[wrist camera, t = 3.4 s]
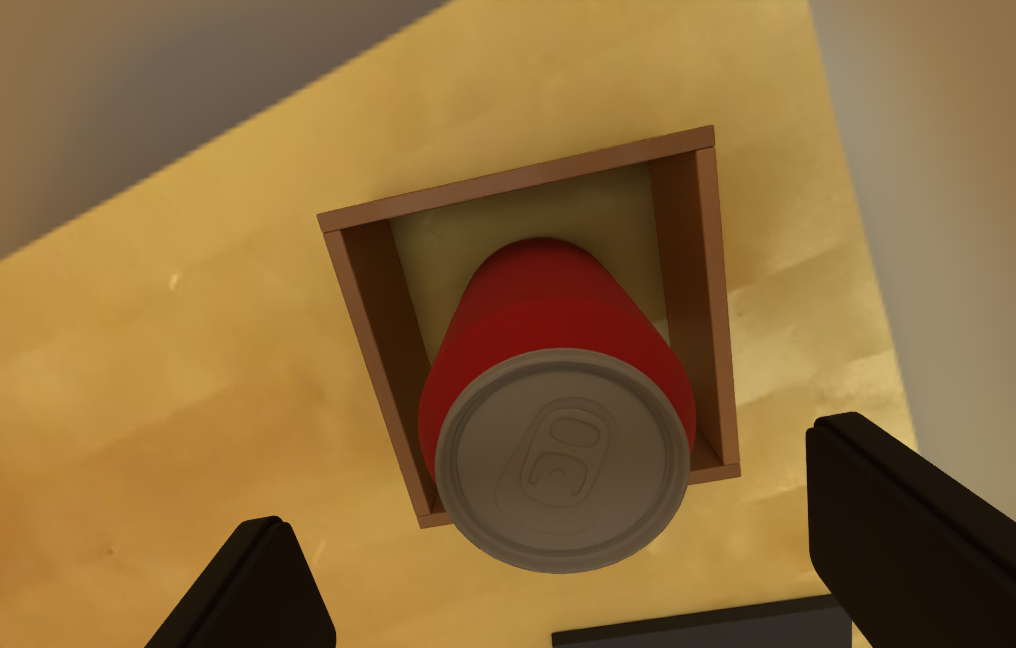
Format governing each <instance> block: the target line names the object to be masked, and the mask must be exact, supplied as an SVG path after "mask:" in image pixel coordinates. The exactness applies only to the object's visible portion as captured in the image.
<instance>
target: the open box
mask: <svg viewBox="0 0 1016 648" xmlns="http://www.w3.org/2000/svg"><path fill="white" fill-rule="evenodd" d="M713 146H715V133H714V125H708V126H704V127H699V128H694V129H690V130H685V131H681V132H676V133H671V134H667V135H662V136H657V137H653V138H649V139H644V140H640V141H635V142H631V143H627V144H622V145H618V146H613V147H609V148H605V149H600V150H596V151H591V152H587V153H582V154H578V155H574V156H569V157H565V158H560V159H556V160H552V161H547V162H543V163H538V164H534V165H530V166H525V167H521V168H516V169H512V170H507V171H503V172H499V173H494V174H490V175H485V176H481V177H477V178H472V179H468V180H463V181H459V182H455V183H450V184H446V185H441V186H437V187H432V188H428V189H424V190H419V191H415V192H410V193H406V194H402V195H397V196H393V197H388V198H384V199H380V200H375V201H371V202H366V203H362V204H358V205H354V206H350V207H345V208H341V209H337V210H333V211H328V212H324V213H320V214H317V219H318V222H319V225H320V228H321V231H322V233H324V234H323V236H324V239H325V242H326V245H327V248H328V251H329V254H330V257H331V260H332V263H333V266H334V269H335V272H336V276H337V279H338V282H339V285H340V288H341V291H342V294H343V297H344V300H345V303H346V306H347V309H348V312H349V315H350V318H351V321H352V324H353V327H354V330H355V333H356V336H357V339H358V342H359V345H360V348H361V351H362V354H363V357H364V360H365V363H366V366H367V369H368V372H369V375H370V378H371V381H372V384H373V387H374V390H375V393H376V396H377V399H378V402H379V405H380V408H381V411H382V414H383V417H384V420H385V423H386V426H387V429H388V432H389V435H390V438H391V441H392V444H393V448H394V451H395V454H396V457H397V460H398V463H399V466H400V469H401V472H402V475H403V478H404V481H405V484H406V487H407V490H408V493H409V496H410V499H411V502H412V505H413V508H414V511H415V514H416V516H417V520H418V523H419V526H420V528H421V529H423V528H429V527H436V526H442V525H448V524H454V523H453V522H452V520H451V519H450V517H449V516H448V514H447V512H446V510H445V508H444V506H443V503H442V501H441V499H440V496H439V492H438V489H437V485H436V484H435V482H434V480H433V479H432V477H431V475H430V473H429V471H428V468H427V466H426V463H425V461H424V457H423V454H422V450H421V446H420V441H419V433H418V412H419V404H420V400H421V395H422V392H423V389H424V385H425V383H426V380H427V378H428V375H429V373H430V370H431V369H430V366H429V362H428V359H427V355H426V352H425V348H424V345H423V341H422V338H421V334H420V331H419V327H418V324H417V320H416V317H415V313H414V310H413V306H412V303H411V300H410V296H409V293H408V289H407V286H406V282H405V279H404V275H403V272H402V268H401V265H400V261H399V258H398V254H397V251H396V247H395V244H394V240H393V237H392V234H391V230H390V227H389V223H388V220H387V219H390V218H394V217H398V216H403V215H407V214H412V213H416V212H421V211H425V210H430V209H434V208H439V207H443V206H448V205H452V204H457V203H461V202H466V201H470V200H475V199H479V198H484V197H488V196H493V195H497V194H502V193H506V192H511V191H515V190H520V189H524V188H529V187H533V186H538V185H542V184H547V183H551V182H556V181H560V180H565V179H569V178H574V177H578V176H583V175H587V174H592V173H596V172H601V171H605V170H610V169H614V168H619V167H623V166H628V165H632V164H637V163H641V162H645V161H649V165H650V174H651V182H652V191H653V199H654V207H655V216H656V224H657V232H658V241H659V249H660V258H661V266H662V274H663V283H664V291H665V300H666V308H667V316H668V325H669V333H670V342H671V349H672V350H673V352H674V353H675V355H676V356H677V358H678V359H679V361H680V362H681V364H682V366H683V368H684V370H685V372H686V374H687V376H688V379H689V381H690V384H691V387H692V391H693V395H694V400H695V407H696V432H695V440H694V445H693V449H692V453H691V456H690V473H689V480H688V485H693V484H699V483H705V482H711V481H718V480H724V479H730V478H736V477H740V476H741V469H740V463H739V462H740V456H739V443H738V431H737V418H736V405H735V392H734V380H733V367H732V354H731V341H730V329H729V316H728V303H727V290H726V278H725V265H724V252H723V239H722V227H721V214H720V201H719V188H718V176H717V163H716V150H715V147H713Z"/></svg>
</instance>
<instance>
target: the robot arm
mask: <svg viewBox="0 0 1016 648" xmlns="http://www.w3.org/2000/svg"><path fill="white" fill-rule="evenodd" d="M806 466H807V497H808V527H809V552H810V558H811V561H812V564H813V566H814V568H815V570H816V572H817V574H818V575H819V577H820V578H821V580H822V581H823V582H824V584H825V585H826V586H827V588H828V589H829V590H830V592H831V593H832V594H833V596H834V597H835V598H836V599H837V601H838V602H839V603H840V605H841V606H842V607H843V609H844V610H845V611H846V613H847V614H848V615H849V617H850V618H851V619H852V621H853V622H854V623H855V625H856V626H857V627H858V629H859V630H860V631H861V633H862V634H863V635H864V637H865V638H866V639H867V640H868V642H869V643H870V644H871V646H872V647H873V648H1016V522H1015V521H1013V520H1012V519H1010V518H1009V517H1007V516H1006V515H1005V514H1003V513H1002V512H1000V511H999V510H997V509H996V508H994V507H993V506H992V505H990V504H989V503H987V502H986V501H984V500H983V499H982V498H980V497H979V496H977V495H976V494H974V493H973V492H971V491H970V490H969V489H967V488H966V487H964V486H963V485H961V484H960V483H958V482H957V481H956V480H954V479H953V478H951V477H950V476H949V475H947V474H946V473H944V472H943V471H941V470H940V469H939V468H937V467H936V466H934V465H933V464H931V463H930V462H929V461H927V460H926V459H924V458H923V457H921V456H920V455H919V454H917V453H916V452H914V451H913V450H911V449H910V448H909V447H907V446H906V445H904V444H903V443H901V442H900V441H899V440H897V439H896V438H894V437H893V436H891V435H890V434H889V433H887V432H886V431H884V430H883V429H881V428H880V427H878V426H877V425H876V424H874V423H873V422H871V421H870V420H868V419H867V418H866V417H864V416H863V415H861V414H859V413H857V412H846V413H841V414H835V415H830V416H824V417H819V418H817V419H816V420H815V423H814V427H813V428H809V429H807V431H806ZM335 647H336V631H335V627H334V625H333V623H332V620H331V618H330V616H329V613H328V611H327V609H326V606H325V604H324V601H323V599H322V597H321V594H320V592H319V590H318V587H317V585H316V583H315V580H314V578H313V576H312V573H311V571H310V569H309V566H308V564H307V562H306V559H305V557H304V555H303V552H302V550H301V547H300V545H299V543H298V540H297V538H296V536H295V533H294V531H293V529H292V527H291V525H290V524H289V523H288V522H283V521H282V519H281V518H279V517H278V516H269V517H263V518H258V519H252V520H247V521H244V522H242V523H241V524H240V525H239V526H238V527H237V528H236V529H235V531H234V532H233V533H232V535H231V536H230V537H229V538H228V540H227V541H226V542H225V544H224V545H223V546H222V548H221V549H220V550H219V551H218V553H217V554H216V555H215V557H214V558H213V559H212V560H211V562H210V563H209V564H208V566H207V567H206V568H205V570H204V571H203V572H202V573H201V575H200V576H199V577H198V579H197V580H196V581H195V582H194V584H193V585H192V586H191V588H190V589H189V590H188V592H187V593H186V594H185V595H184V597H183V598H182V599H181V601H180V602H179V603H178V604H177V606H176V607H175V608H174V610H173V611H172V612H171V614H170V615H169V616H168V617H167V619H166V620H165V621H164V623H163V624H162V625H161V626H160V628H159V629H158V630H157V632H156V633H155V634H154V636H153V637H152V638H151V639H150V641H149V642H148V643H147V645H146V646H145V647H144V648H335Z"/></svg>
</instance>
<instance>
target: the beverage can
mask: <svg viewBox="0 0 1016 648" xmlns="http://www.w3.org/2000/svg"><path fill="white" fill-rule="evenodd" d="M695 432H696V407H695V400H694V395H693V391H692V387H691V384H690V381H689V379H688V376H687V374H686V372H685V370H684V368H683V366H682V364H681V362H680V361H679V359H678V358H677V356H676V355H675V353H674V352H673V350H672V349H671V348H670V347H669V345H668V344H667V343H666V342H665V340H664V339H663V338H662V336H661V335H660V334H659V333H658V331H657V330H656V329H655V328H654V326H653V325H652V324H651V323H650V321H649V320H648V319H647V317H646V316H645V315H644V314H643V313H642V311H641V310H640V309H639V308H638V307H637V305H636V304H635V303H634V302H633V301H632V299H631V298H630V297H629V296H628V294H627V293H626V292H625V291H624V290H623V288H622V287H621V286H620V285H619V284H618V283H617V282H616V280H615V279H614V278H613V277H612V276H611V275H610V274H609V272H608V271H607V270H606V269H605V268H604V267H603V266H602V265H601V264H600V263H599V262H598V261H597V260H596V259H595V258H594V257H593V256H592V255H591V254H589V253H588V252H587V251H585V250H583V249H582V248H580V247H578V246H576V245H574V244H572V243H569V242H566V241H562V240H559V239H553V238H530V239H525V240H521V241H517V242H514V243H512V244H509V245H507V246H505V247H503V248H501V249H499V250H498V251H496V252H495V253H493V254H492V255H491V256H490V257H488V258H487V259H486V260H485V261H484V262H483V263H482V264H481V265H480V267H479V268H478V269H477V270H476V272H475V273H474V275H473V277H472V279H471V280H470V282H469V284H468V286H467V288H466V290H465V292H464V294H463V296H462V298H461V301H460V303H459V305H458V307H457V309H456V312H455V314H454V316H453V318H452V320H451V323H450V325H449V327H448V330H447V332H446V334H445V337H444V339H443V341H442V344H441V346H440V348H439V351H438V353H437V356H436V358H435V361H434V363H433V366H432V368H431V370H430V373H429V375H428V378H427V380H426V383H425V385H424V389H423V392H422V395H421V400H420V404H419V412H418V433H419V441H420V446H421V450H422V454H423V457H424V461H425V463H426V466H427V468H428V471H429V473H430V475H431V477H432V479H433V480H434V482H435V484H436V485H437V489H438V492H439V496H440V499H441V501H442V503H443V506H444V508H445V510H446V512H447V514H448V516H449V517H450V519H451V520H452V522H453V523H454V524H455V526H456V527H457V528H458V530H459V531H460V532H461V533H462V534H463V535H464V536H465V537H466V538H467V539H468V540H469V541H470V542H471V543H473V544H474V545H475V546H476V547H478V548H479V549H480V550H482V551H484V552H485V553H487V554H488V555H490V556H492V557H493V558H495V559H497V560H500V561H502V562H504V563H507V564H509V565H512V566H514V567H518V568H521V569H525V570H529V571H534V572H541V573H551V574H568V573H579V572H586V571H591V570H596V569H599V568H603V567H606V566H609V565H612V564H615V563H617V562H619V561H621V560H623V559H625V558H627V557H629V556H631V555H633V554H635V553H636V552H638V551H639V550H641V549H642V548H644V547H645V546H647V545H648V544H649V543H650V542H651V541H653V540H654V539H655V538H656V537H657V536H658V535H659V534H660V533H661V532H662V531H663V530H664V529H665V527H666V526H667V525H668V524H669V523H670V521H671V520H672V518H673V517H674V515H675V514H676V512H677V510H678V508H679V507H680V505H681V502H682V500H683V498H684V495H685V492H686V489H687V485H688V480H689V473H690V456H691V453H692V449H693V445H694V440H695Z"/></svg>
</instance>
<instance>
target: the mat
mask: <svg viewBox="0 0 1016 648" xmlns="http://www.w3.org/2000/svg"><path fill="white" fill-rule="evenodd" d="M552 646H553V648H852V619H851V618H850V617H849V615H848V614H847V613H846V611H845V610H844V609H843V607H842V606H841V605H840V603H839V602H838V601H837V599H836V598H835V597H834V596H833V595H826V596H819V597H812V598H805V599H798V600H790V601H783V602H776V603H769V604H762V605H755V606H747V607H740V608H733V609H726V610H719V611H712V612H705V613H697V614H690V615H683V616H676V617H669V618H662V619H655V620H647V621H640V622H633V623H626V624H619V625H612V626H605V627H597V628H590V629H583V630H576V631H569V632H562V633H555V634H552Z"/></svg>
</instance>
